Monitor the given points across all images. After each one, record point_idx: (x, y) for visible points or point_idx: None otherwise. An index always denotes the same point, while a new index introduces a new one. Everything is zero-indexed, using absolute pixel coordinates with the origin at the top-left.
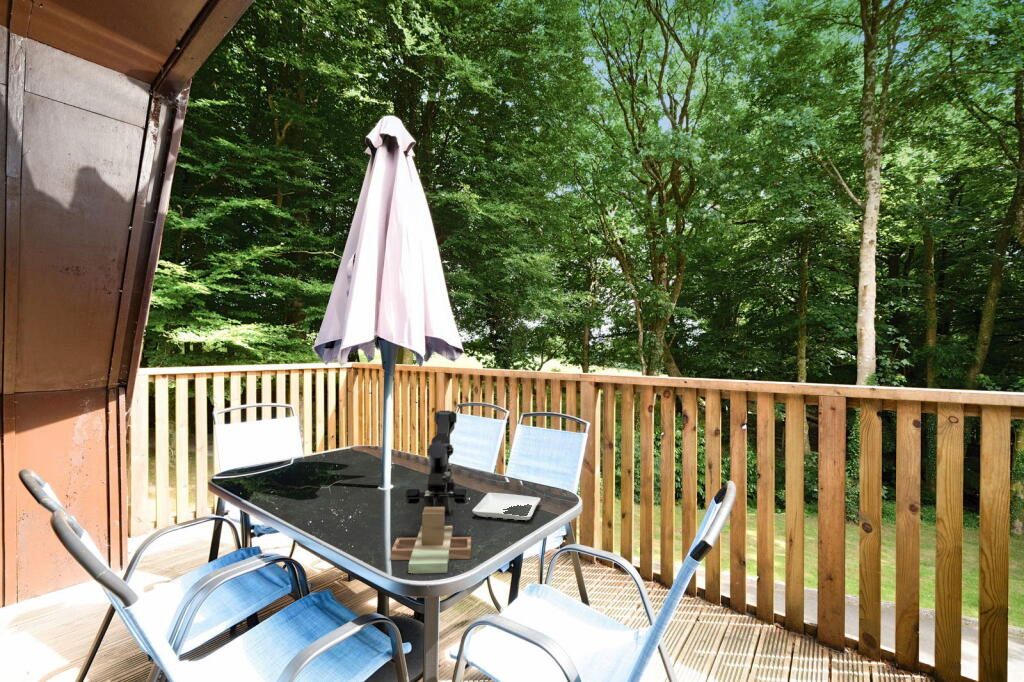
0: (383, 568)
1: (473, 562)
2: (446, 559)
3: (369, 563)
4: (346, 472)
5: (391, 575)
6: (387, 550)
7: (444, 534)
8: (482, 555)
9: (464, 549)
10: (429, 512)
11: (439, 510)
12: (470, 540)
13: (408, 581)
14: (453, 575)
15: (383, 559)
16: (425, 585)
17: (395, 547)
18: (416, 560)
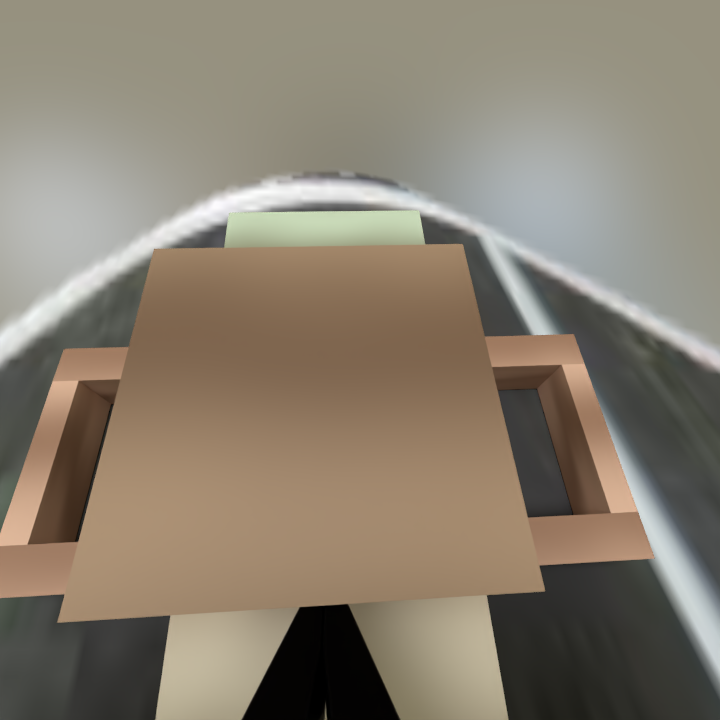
0: (542, 285)
1: (90, 336)
2: (230, 242)
3: (638, 329)
4: None
5: (479, 234)
6: (638, 490)
7: (233, 665)
8: (5, 419)
9: (104, 352)
10: (368, 290)
11: (204, 374)
12: (11, 508)
13: (394, 198)
14: (211, 230)
15: (592, 370)
16: (323, 175)
17: (572, 382)
18: (388, 237)
